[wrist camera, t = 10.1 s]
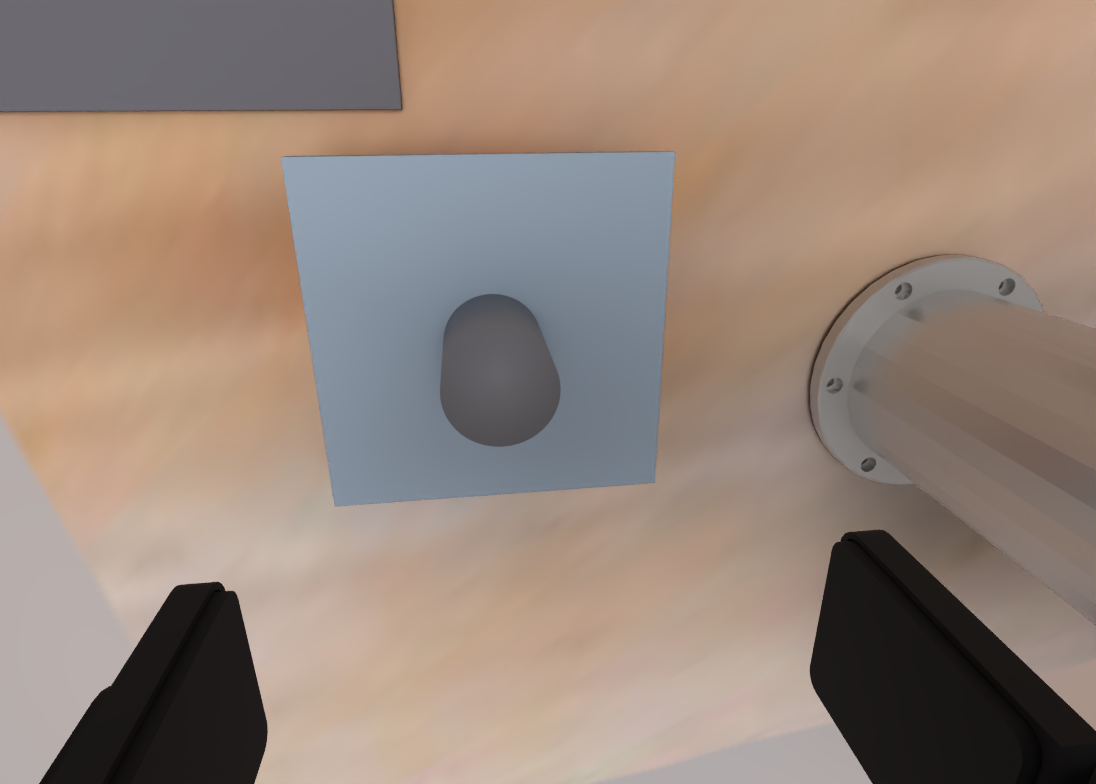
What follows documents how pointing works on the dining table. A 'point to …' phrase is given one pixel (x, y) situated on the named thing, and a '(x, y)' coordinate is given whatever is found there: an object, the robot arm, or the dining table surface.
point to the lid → (484, 318)
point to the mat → (198, 55)
